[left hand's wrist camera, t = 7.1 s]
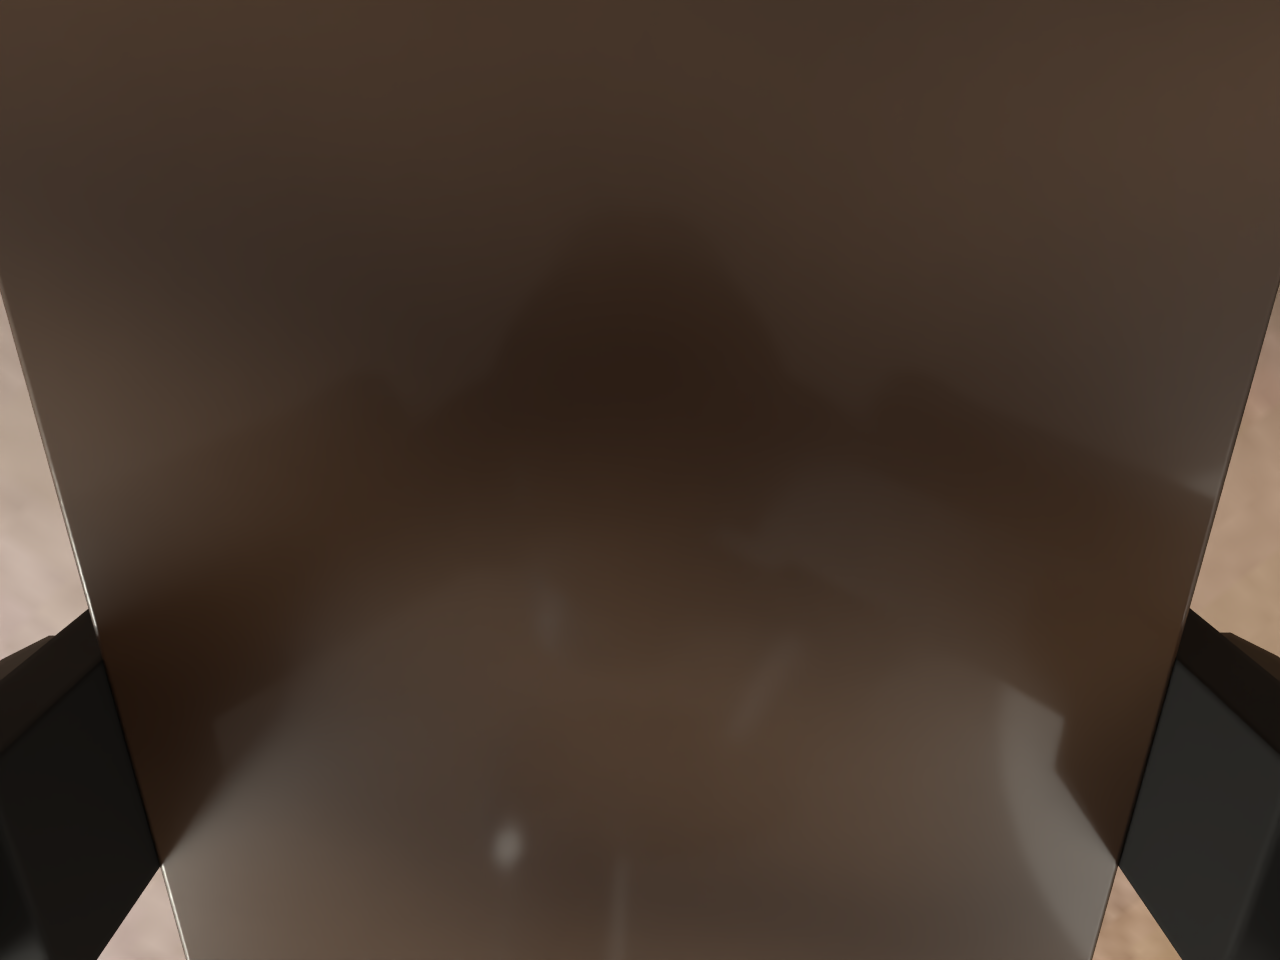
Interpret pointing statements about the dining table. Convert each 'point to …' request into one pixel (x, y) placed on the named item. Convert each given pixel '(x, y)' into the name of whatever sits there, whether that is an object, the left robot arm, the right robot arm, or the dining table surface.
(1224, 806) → the left robot arm
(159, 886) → the dining table surface
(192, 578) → the cabinet
